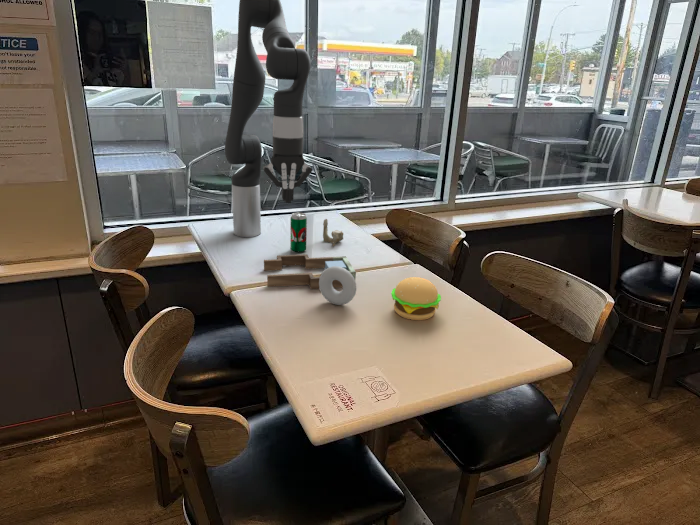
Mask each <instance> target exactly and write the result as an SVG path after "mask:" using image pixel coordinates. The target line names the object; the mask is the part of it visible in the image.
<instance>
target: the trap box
mask: <svg viewBox="0 0 700 525" xmlns="http://www.w3.org/2000/svg"><path fill="white" fill-rule="evenodd" d="M325 261H343V263H344V264H345V266H346V270H348V271H349V272H350V273H351V274H352V276H353V277H354V279H355V280H356V278H357V277H356V274H357V271H356V270H355V268H354V267H353V265H352V264H351V262H350V260H349V259H348V257H347V256H327V257H326V256H323V257H321V256H320V257H309V255H308V254H283V255H276V258H275V259H264V260H263V270H264V272H270V271H273V272H274V271H283V267H293V266H296V267H297V266H304V268H305V270H311V269H325ZM266 278H267V282H266V284H267V288H271V287H290V286H306V285H307V286H309V289H310V290H317V289H319V279H320V276H314V274H313V272H304V273H302V272H300V273H282V274H281V273H280V274H279V273H277V274H266ZM332 285H333V288H334V289H335V288H338V289H339V288H343V286H342V284H341V282H340V281H338V280H333V282H332ZM319 290H320V289H319Z"/></svg>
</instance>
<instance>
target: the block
mask: <svg viewBox="0 0 700 525" xmlns="http://www.w3.org/2000/svg"><path fill="white" fill-rule="evenodd" d="M333 266H339V267H342V268H345V269H346V266H345V264H344V263H343V261H325V268H324V270H326V269H327V268H329V267H333Z"/></svg>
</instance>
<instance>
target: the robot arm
mask: <svg viewBox="0 0 700 525" xmlns="http://www.w3.org/2000/svg"><path fill="white" fill-rule="evenodd" d="M282 4H283V3H282V1H281V0H239V3H238V23H237V30H238V31H237V47H236V56H235V57H236V58H235V64H234V65H235V66H234V73H233V82H232V91H231V92H232V93H231V94H232V97H231V107H230V113H229V121H228V126H227V131H226V137H225V142H224V155H225V160H226V161H227V162H228V163H229V164H231V165H244V166H243V168H242V169H241V170H239V171H238V172H236V173H234V174H232V176H231V198H232V221H233V222H232V223H233V224H232V225H233V234H234V235H235V236H237V237H241V238H252V237H257V236H259V235H261V233H262V228H261V225H262V224H261V222H262V221H261V220H262V219H261V217H262V216H261V214H262V213H261V176H262V169H263V172H265V173H264V174H266V175H267V176H268V178H269V179H270V180H271V182H272V183H273V184H274V185H275V186H276V187H277V188H281V199H282V200H283V201H284V203H285V204H291V203H292V201H294V195H295V194H294V189H296V188H297V187H301V185H303V183H304V182H305V181H306V179H307V178H308V177H309V175H311V173H312V172H313V168H312V167H311V166H310V165H308V164H306V162H305V159H304V154H303V153H304V148H303V147H304V121H303V101H304V94H305V88H306V87H307V82H308V79H309V75H310V72H311V66H312V61H311V57H310V54H309V53H308V51H307V50H305V49H303V48H297V47H296V46H295V44H294V43H295V42H294V40H293V38H292V36H291V35H290V33H289V31H288V29H287V25H286V18H285V14H284V10H283V5H282ZM252 27H253V28H258V29H259V28H260V29H263V31H262V36H261V38H262V44H263V47H264V50H265V51H266V60H265V67H266V68H265V70H266V72H267V74H268V75H269V76H270V77H271V78H272V79H274V80H284V81H285V80H286V81H289V80H290V81H293V83H292V84H291V86H290V87H288V88H286V89H279V90H277V91H276V92H274V95H273V121H272V157H271V159H270V162H269V163H268V164H266V165H263V167H262V156H263V155H262V154H263V151H262V150H263V149H262V144H261V140H260V138H259V136H257V135H256V134H244V131H245V128H246V125H247V123H248V121H249V120H250V118H251V117H252V116H253V114H254V113H255V112H256V110H257V109H258V108H259V106H260V104H261V103H262V101H263V98H264V94H265V93H264V92H265V86H266V72H265V71H264V68H263V66H262V63H261V60H260V58H259V56H258V54H257V52H256V50H255V47H254V44H253V39H252V32H251V31H252ZM274 169H275V170H276V172H277V174H278V175H280V180H279V179H278V178H277V177H276V175H275V174H274V173H273V172H274ZM300 170H301V173H300V174H299V175H298V173H299V171H300ZM296 175H298V177H297V178H296Z"/></svg>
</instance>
